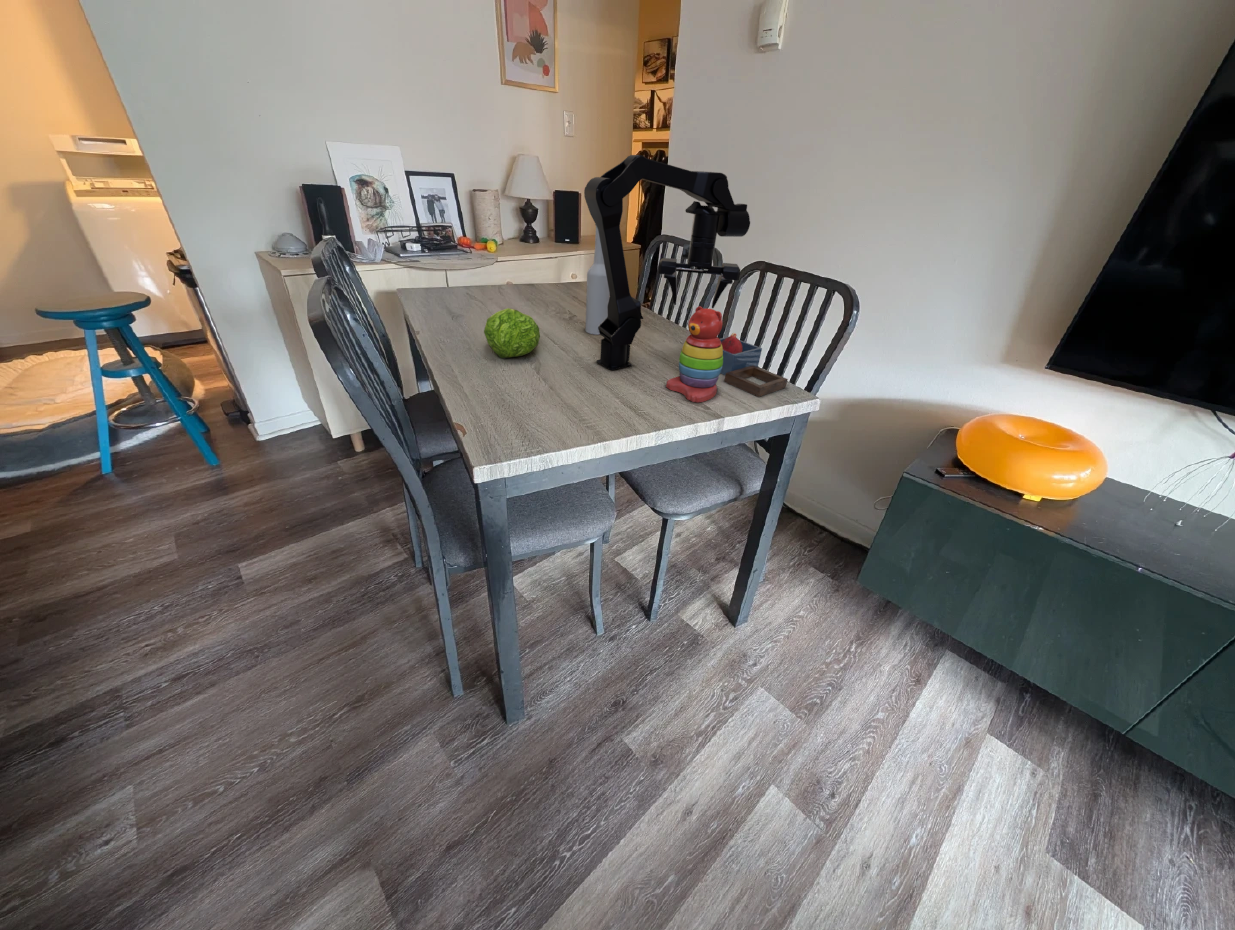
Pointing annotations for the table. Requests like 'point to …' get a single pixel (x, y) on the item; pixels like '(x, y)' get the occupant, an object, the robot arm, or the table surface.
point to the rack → (771, 386)
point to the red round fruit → (732, 344)
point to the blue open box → (740, 358)
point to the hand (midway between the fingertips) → (693, 306)
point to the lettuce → (511, 333)
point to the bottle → (596, 291)
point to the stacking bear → (700, 357)
